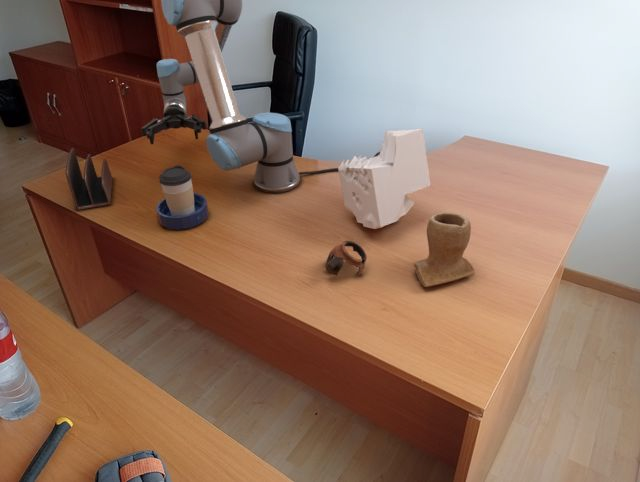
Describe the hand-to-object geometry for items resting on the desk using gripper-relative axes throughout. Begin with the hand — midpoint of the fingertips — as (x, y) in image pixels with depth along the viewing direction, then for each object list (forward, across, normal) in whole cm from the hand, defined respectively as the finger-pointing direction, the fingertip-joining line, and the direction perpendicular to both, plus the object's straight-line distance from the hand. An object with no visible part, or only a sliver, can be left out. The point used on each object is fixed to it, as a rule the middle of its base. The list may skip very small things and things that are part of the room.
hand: (173, 137), depth 150 cm
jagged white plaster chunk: (+33, -57, -19) cm, 68 cm away
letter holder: (-6, +29, -19) cm, 35 cm away
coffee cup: (+18, 0, -18) cm, 25 cm away
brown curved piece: (+55, -39, -19) cm, 70 cm away
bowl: (+18, 0, -19) cm, 26 cm away
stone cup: (+62, -63, -19) cm, 90 cm away
